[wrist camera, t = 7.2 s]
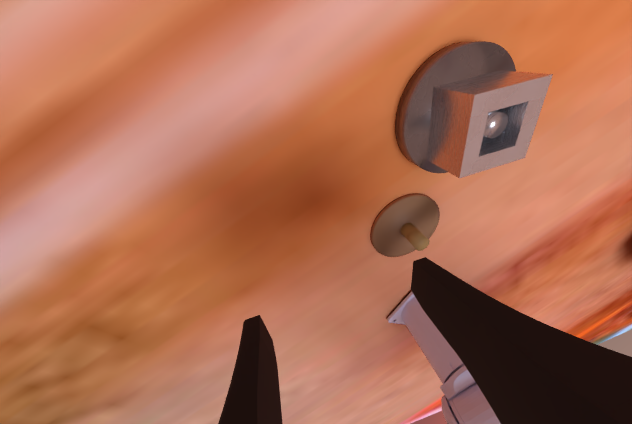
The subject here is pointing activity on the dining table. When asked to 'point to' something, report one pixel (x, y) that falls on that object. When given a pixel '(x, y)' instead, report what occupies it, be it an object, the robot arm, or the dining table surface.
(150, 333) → the dining table surface
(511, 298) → the dining table surface
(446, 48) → the hub
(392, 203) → the stand
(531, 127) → the square tube sleeve
